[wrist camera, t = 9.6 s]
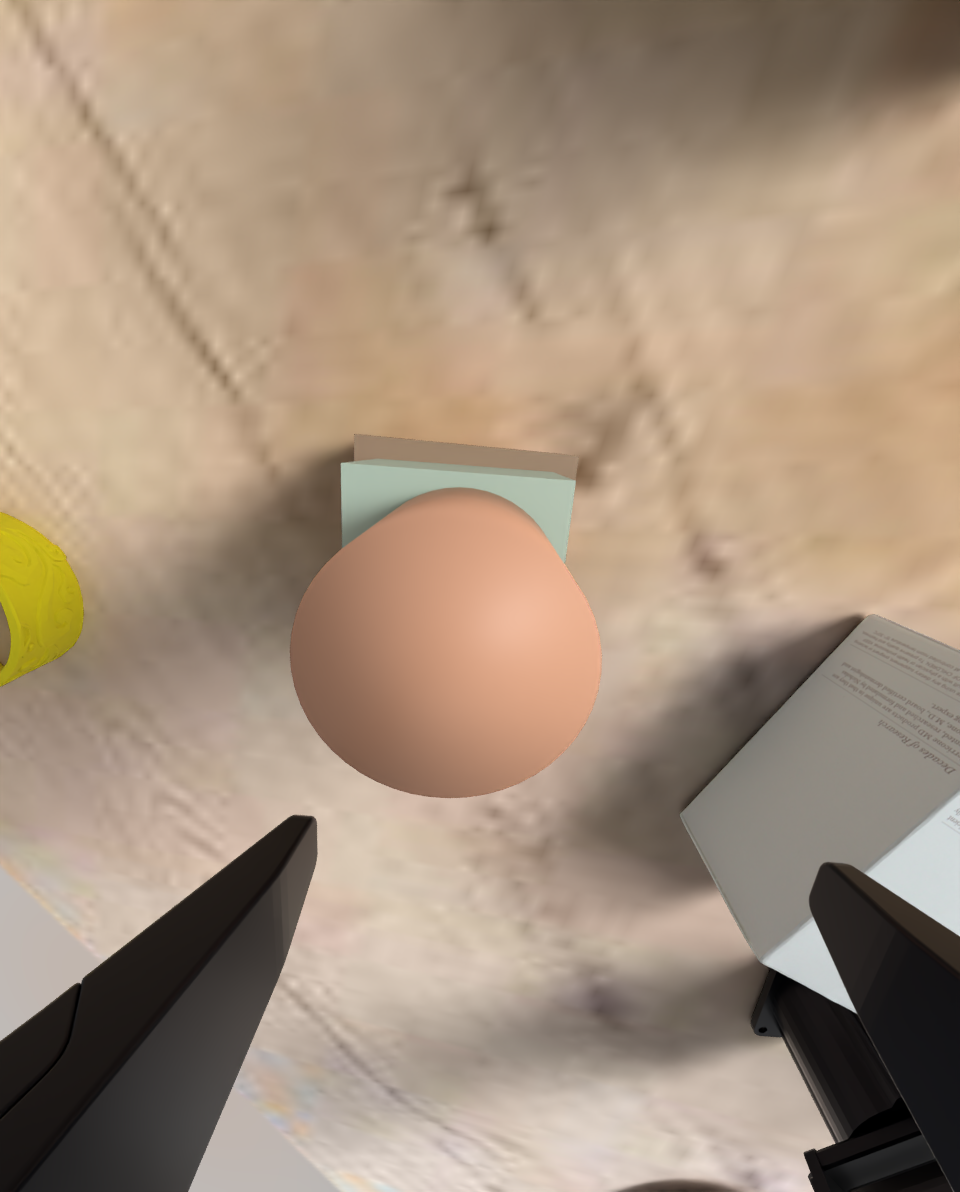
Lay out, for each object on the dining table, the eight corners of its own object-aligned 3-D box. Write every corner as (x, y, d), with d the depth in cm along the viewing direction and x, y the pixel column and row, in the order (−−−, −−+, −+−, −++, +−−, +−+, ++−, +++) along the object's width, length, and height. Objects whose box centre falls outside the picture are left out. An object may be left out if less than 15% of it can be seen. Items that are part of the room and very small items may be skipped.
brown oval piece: (540, 688, 13) (568, 813, 8) (355, 665, 13) (288, 779, 8) (577, 502, 11) (635, 539, 7) (367, 473, 11) (291, 492, 7)
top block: (533, 633, 17) (548, 689, 13) (376, 622, 16) (343, 675, 13) (552, 472, 15) (576, 481, 11) (378, 458, 15) (340, 462, 11)
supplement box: (865, 607, 20) (670, 810, 23) (1079, 696, 13) (757, 972, 16) (978, 692, 21) (780, 874, 24) (1230, 815, 14) (904, 1048, 17)
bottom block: (536, 620, 21) (548, 659, 17) (376, 605, 21) (351, 642, 17) (559, 453, 19) (579, 455, 15) (381, 436, 18) (354, 433, 15)
